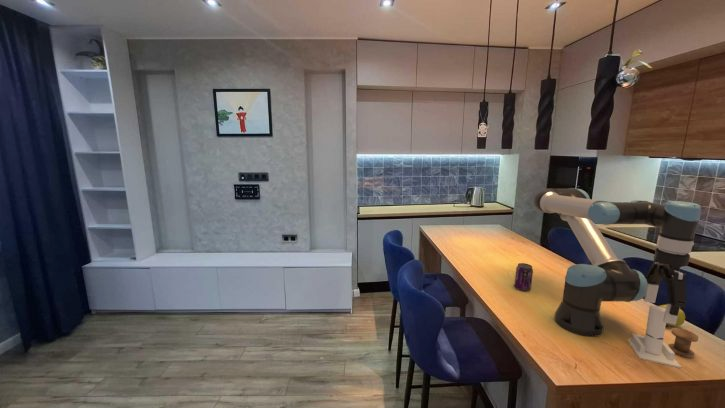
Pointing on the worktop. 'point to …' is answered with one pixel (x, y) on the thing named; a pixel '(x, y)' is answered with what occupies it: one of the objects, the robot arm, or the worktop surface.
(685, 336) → the wooden cabinet knob
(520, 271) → the beverage can
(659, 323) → the tube
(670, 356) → the notch board
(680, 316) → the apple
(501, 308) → the worktop surface
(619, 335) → the worktop surface
